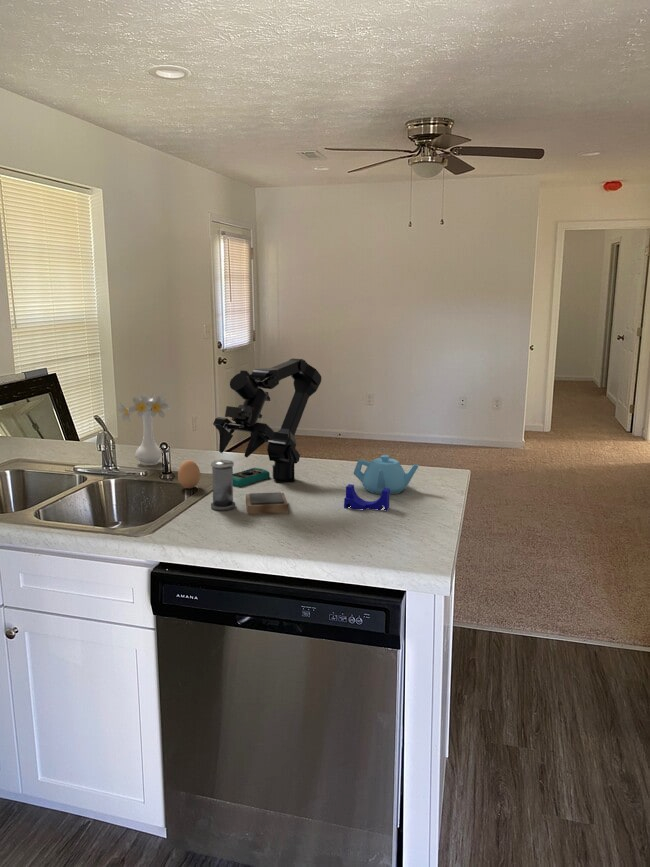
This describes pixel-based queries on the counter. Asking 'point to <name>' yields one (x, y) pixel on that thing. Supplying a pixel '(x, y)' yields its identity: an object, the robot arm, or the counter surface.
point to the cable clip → (359, 503)
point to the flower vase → (146, 425)
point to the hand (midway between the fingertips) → (232, 454)
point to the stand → (266, 503)
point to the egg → (188, 474)
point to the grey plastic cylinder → (222, 485)
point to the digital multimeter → (249, 476)
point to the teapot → (384, 475)
